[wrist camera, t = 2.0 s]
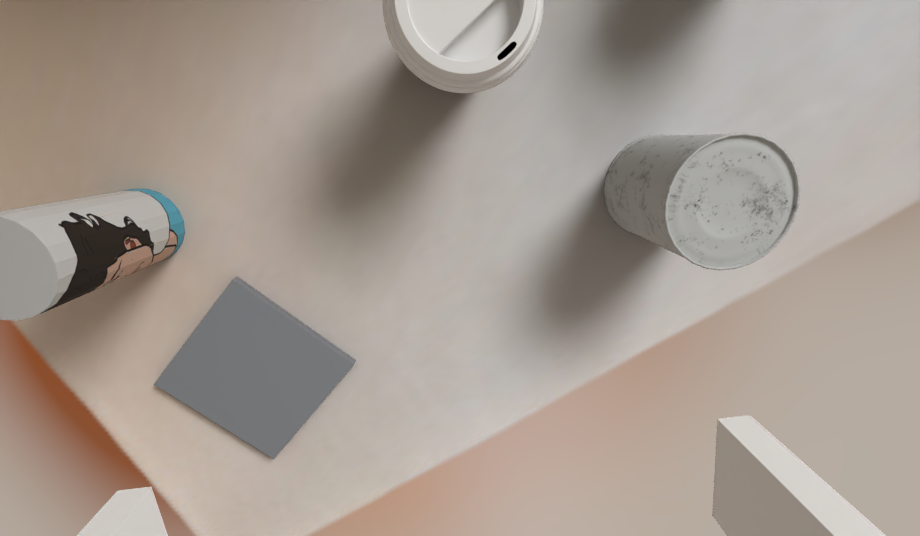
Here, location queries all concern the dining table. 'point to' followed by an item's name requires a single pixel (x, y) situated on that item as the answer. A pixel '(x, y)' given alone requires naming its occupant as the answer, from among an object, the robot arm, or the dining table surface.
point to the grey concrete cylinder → (705, 195)
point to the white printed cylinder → (81, 247)
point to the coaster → (254, 369)
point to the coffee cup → (463, 39)
